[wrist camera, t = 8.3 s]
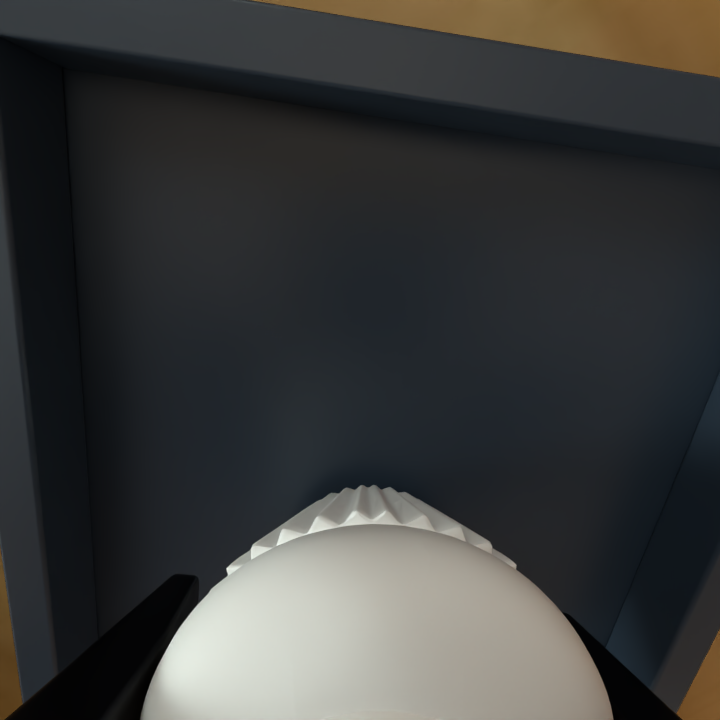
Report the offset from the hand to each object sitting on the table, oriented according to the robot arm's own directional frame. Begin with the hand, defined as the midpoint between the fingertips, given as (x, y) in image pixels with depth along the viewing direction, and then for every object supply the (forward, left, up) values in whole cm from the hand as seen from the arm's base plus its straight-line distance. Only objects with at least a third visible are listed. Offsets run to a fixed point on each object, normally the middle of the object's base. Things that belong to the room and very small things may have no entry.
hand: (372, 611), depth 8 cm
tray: (0, 0, -3) cm, 3 cm away
